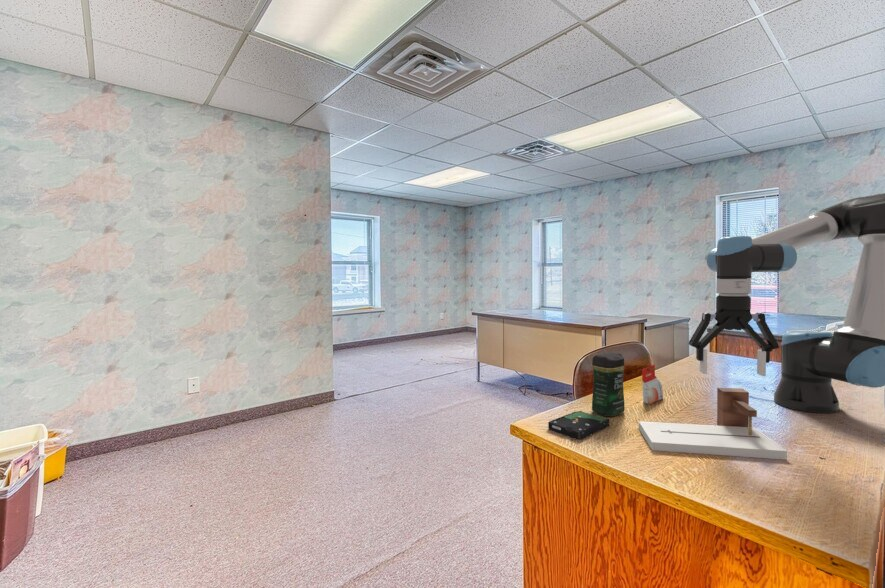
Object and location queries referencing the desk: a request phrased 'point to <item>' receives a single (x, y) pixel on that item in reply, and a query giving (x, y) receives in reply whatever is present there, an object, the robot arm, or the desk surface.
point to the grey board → (710, 440)
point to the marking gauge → (734, 408)
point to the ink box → (651, 386)
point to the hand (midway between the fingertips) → (731, 373)
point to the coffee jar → (608, 384)
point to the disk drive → (578, 424)
